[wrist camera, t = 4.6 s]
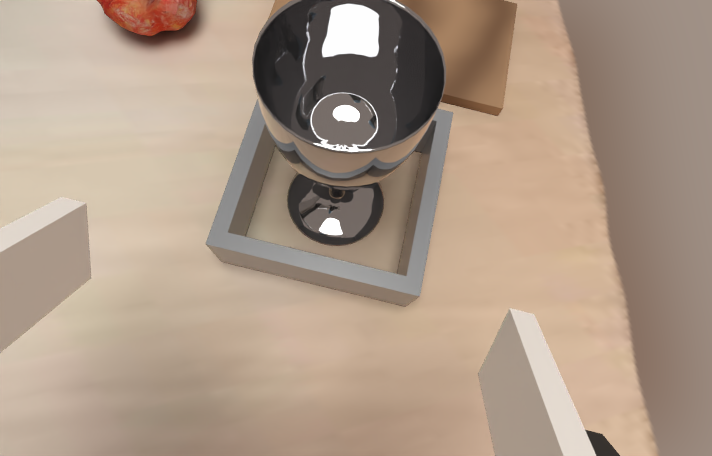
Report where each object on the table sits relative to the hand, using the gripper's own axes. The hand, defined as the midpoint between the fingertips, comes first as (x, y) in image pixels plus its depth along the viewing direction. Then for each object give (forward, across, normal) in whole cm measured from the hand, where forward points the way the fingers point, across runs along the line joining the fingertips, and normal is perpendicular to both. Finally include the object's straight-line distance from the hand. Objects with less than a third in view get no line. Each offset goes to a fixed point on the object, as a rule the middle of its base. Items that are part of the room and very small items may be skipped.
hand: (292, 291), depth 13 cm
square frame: (+18, 0, -4) cm, 19 cm away
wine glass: (+18, 0, -5) cm, 19 cm away
